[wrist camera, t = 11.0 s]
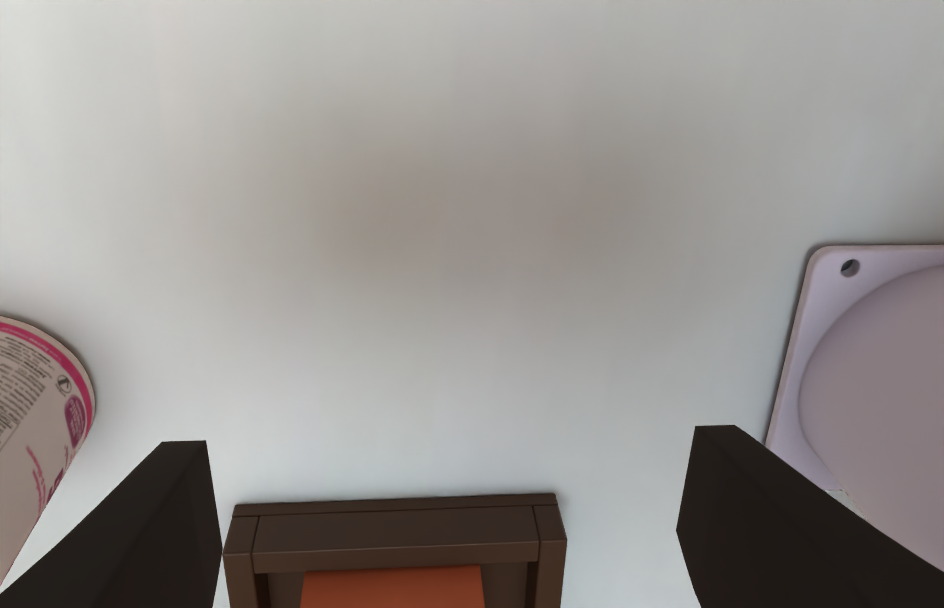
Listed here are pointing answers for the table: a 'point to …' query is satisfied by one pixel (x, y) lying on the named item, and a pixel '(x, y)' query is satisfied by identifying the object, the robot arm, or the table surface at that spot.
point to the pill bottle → (36, 427)
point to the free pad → (395, 587)
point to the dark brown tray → (398, 545)
